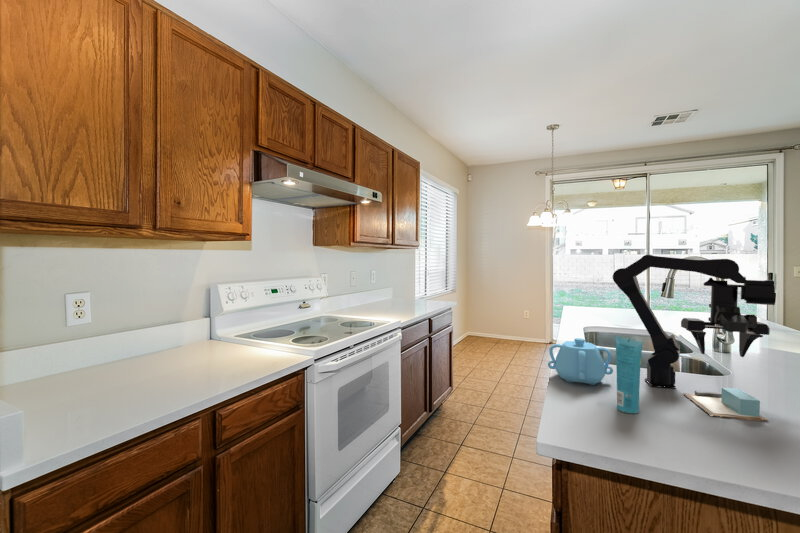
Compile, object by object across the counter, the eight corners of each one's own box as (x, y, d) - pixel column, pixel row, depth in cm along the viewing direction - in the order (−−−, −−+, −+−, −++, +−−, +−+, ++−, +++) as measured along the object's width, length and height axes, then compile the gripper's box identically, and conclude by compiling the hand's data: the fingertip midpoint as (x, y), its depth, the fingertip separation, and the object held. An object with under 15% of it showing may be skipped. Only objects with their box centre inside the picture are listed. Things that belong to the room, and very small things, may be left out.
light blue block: (759, 416, 91) (759, 400, 91) (740, 414, 92) (740, 399, 92) (735, 401, 101) (735, 386, 101) (718, 399, 102) (718, 385, 102)
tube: (647, 413, 95) (648, 340, 94) (637, 417, 93) (638, 342, 92) (618, 403, 101) (619, 335, 101) (608, 407, 99) (608, 337, 98)
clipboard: (710, 416, 93) (710, 410, 93) (682, 394, 107) (682, 389, 107) (768, 421, 90) (769, 416, 90) (732, 398, 104) (732, 393, 104)
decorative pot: (619, 385, 116) (620, 342, 115) (578, 390, 111) (579, 346, 111) (580, 369, 131) (581, 332, 131) (543, 374, 127) (543, 335, 126)
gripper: (697, 304, 101) (695, 360, 101) (784, 307, 95) (781, 366, 95) (681, 299, 111) (679, 349, 112) (758, 302, 105) (756, 355, 106)
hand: (722, 355), depth 106 cm, fingers open, 9 cm apart
